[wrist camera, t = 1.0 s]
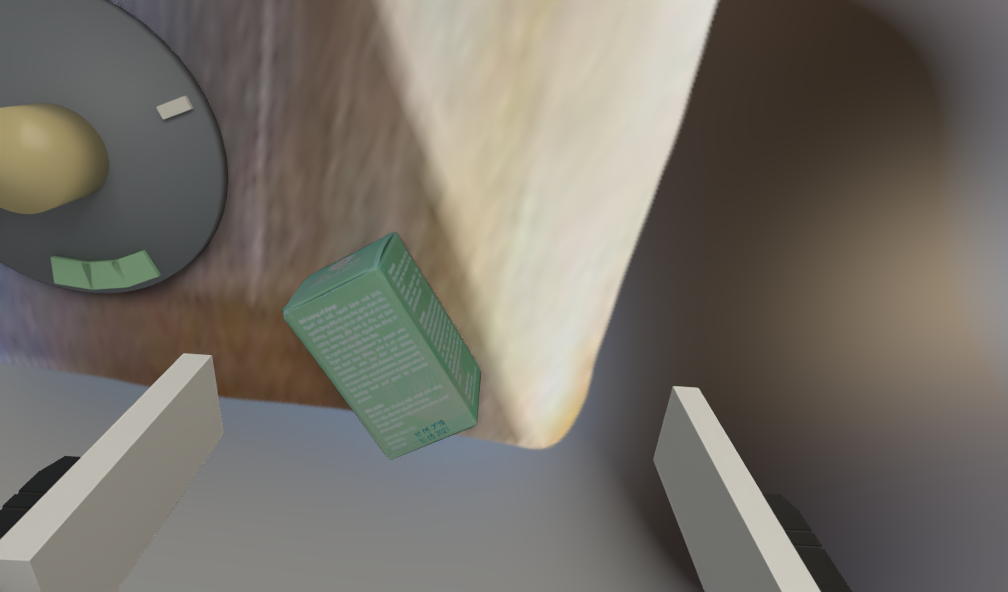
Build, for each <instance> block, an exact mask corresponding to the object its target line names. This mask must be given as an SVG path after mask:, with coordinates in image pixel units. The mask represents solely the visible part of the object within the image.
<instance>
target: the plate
mask: <svg viewBox="0 0 1008 592" xmlns="http://www.w3.org/2000/svg"><path fill="white" fill-rule="evenodd" d="M36 103H52V104H57V105H61V106H63V107H66V108H68V109H70V110H72V111H74V112H76V113H77V114H79V115H80V116H82V117H83V118H84V119H85V120H87V121H88V122H89V123H90V124H91V125H92V126H93V128H94V129H95V130H96V131H97V133H98V134H99V136H100V137H101V139H102V141H103V142H104V145H105V147H106V150H107V153H108V158H109V171H108V175H107V178H106V181H105V183H104V184H103V185H102V187H101V188H100V189H99V190H97V191H96V192H95V193H93V194H91V195H88V196H86V197H83V198H80V199H77V200H75V201H72V202H69V203H66V204H64V205H61V206H58V207H55V208H53V209H50V210H47V211H44V212H41V213H36V214H20V213H15V212H11V211H8V210H5V209H3V208H0V262H1V263H3V264H5V265H7V266H8V267H10V268H12V269H14V270H16V271H18V272H20V273H22V274H24V275H26V276H29V277H31V278H33V279H36V280H38V281H41V282H44V283H47V284H50V285H53V286H56V287H60V288H65V289H69V290H74V291H80V292H89V293H120V292H128V291H134V290H138V289H142V288H145V287H149V286H151V285H154V284H156V283H159V282H161V281H163V280H165V279H167V278H168V277H170V276H172V275H173V274H175V273H176V272H178V271H180V270H181V269H182V268H184V267H185V266H187V265H188V264H189V263H190V262H191V261H192V260H194V259H195V258H196V257H197V256H198V255H199V254H200V253H201V252H202V250H203V249H204V248H205V247H206V246H207V244H208V243H209V242H210V240H211V238H212V237H213V235H214V233H215V231H216V230H217V228H218V225H219V222H220V220H221V217H222V215H223V211H224V207H225V202H226V197H227V185H228V172H227V158H226V153H225V148H224V144H223V139H222V136H221V133H220V130H219V127H218V124H217V121H216V118H215V116H214V113H213V111H212V109H211V107H210V105H209V103H208V100H207V98H206V97H205V95H204V93H203V92H202V90H201V88H200V87H199V85H198V83H197V82H196V80H195V78H194V77H193V76H192V74H191V73H190V72H189V70H188V69H187V68H186V66H185V65H184V64H183V62H182V61H181V60H180V58H179V57H178V56H177V55H176V54H175V53H174V52H173V51H172V50H171V49H170V48H169V46H168V45H167V44H166V43H165V42H164V41H163V40H162V39H161V38H160V37H159V36H157V35H156V34H155V33H154V32H153V31H152V30H151V29H149V28H148V27H147V26H146V25H145V24H144V23H142V22H141V21H140V20H138V19H137V18H135V17H134V16H132V15H131V14H130V13H128V12H127V11H125V10H124V9H123V8H121V7H119V6H117V5H115V4H114V3H112V2H110V1H108V0H0V108H2V107H10V106H19V105H27V104H36Z"/></svg>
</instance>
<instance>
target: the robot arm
mask: <svg viewBox="0 0 1008 592" xmlns="http://www.w3.org/2000/svg"><path fill="white" fill-rule="evenodd" d="M223 435H224V432H223V425H222V419H221V413H220V405H219V399H218V392H217V386H216V379H215V372H214V366H213V359H212V355H199V354H184V353H183V354H182V355H181V357H180V358H179V359H178V360H177V361H176V362H175V363H174V364H173V365H172V366H171V367H170V368H169V369H168V370H167V371H166V372H165V373H164V374H163V375H162V376H161V377H160V378H159V379H158V380H157V381H156V382H155V383H154V384H153V385H152V386H151V387H150V388H149V389H148V390H147V391H146V392H145V393H144V394H143V395H142V396H141V397H140V398H139V399H138V400H137V401H136V402H135V404H133V405H132V406H131V407H130V408H129V409H128V410H127V411H126V412H125V413H124V414H123V415H122V416H121V417H120V419H119V420H118V421H117V422H116V423H115V424H114V425H113V426H112V427H111V428H110V429H109V430H108V431H107V432H106V433H105V434H104V435H103V436H102V437H101V438H100V439H99V440H98V441H97V442H96V443H95V444H94V445H93V446H92V447H91V448H90V449H89V450H88V451H87V452H86V453H85V454H84V455H83V456H82V457H71V456H64V457H63V458H61V459H59V460H58V461H56V462H54V463H53V464H51V465H49V466H47V467H46V468H44V469H43V470H41V471H39V472H38V473H37V474H36V475H35V476H34V477H33V478H31V479H30V481H28V482H27V483H26V484H25V485H24V486H23V487H22V488H21V489H20V490H19V493H18V494H15V495H14V496H13V497H12V498H10V499H9V500H8V502H6V503H5V504H4V505H3V508H2V510H0V592H117V591H118V590H119V588H120V587H121V585H122V584H123V582H124V581H125V579H126V578H127V576H128V575H129V574H130V572H131V571H132V569H133V568H134V566H135V565H136V563H137V562H138V560H139V559H140V557H141V556H142V554H143V553H144V551H145V550H146V548H147V547H148V545H149V544H150V543H151V541H152V540H153V538H154V537H155V535H156V534H157V532H158V530H159V529H160V528H161V526H162V525H163V523H164V522H165V520H166V519H167V517H168V516H169V514H170V513H171V511H172V510H173V509H174V507H175V506H176V504H177V503H178V501H179V500H180V498H181V497H182V495H183V494H184V492H185V491H186V489H187V488H188V486H189V485H190V483H191V482H192V481H193V479H194V477H195V476H196V475H197V473H198V471H199V470H200V469H201V467H202V466H203V464H204V463H205V461H206V460H207V459H208V457H209V456H210V454H211V453H212V451H213V450H214V448H215V447H216V445H217V444H218V442H219V441H220V439H221V438H222V436H223ZM653 460H654V463H655V465H656V468H657V470H658V473H659V476H660V478H661V480H662V483H663V486H664V488H665V491H666V493H667V496H668V499H669V501H670V504H671V506H672V509H673V511H674V514H675V517H676V519H677V522H678V524H679V527H680V529H681V532H682V534H683V537H684V539H685V542H686V545H687V547H688V550H689V552H690V555H691V557H692V560H693V563H694V565H695V568H696V570H697V573H698V575H699V578H700V581H701V583H702V586H703V588H704V591H705V592H852V591H851V589H850V588H849V586H848V585H847V583H846V582H845V580H844V579H843V577H842V576H841V574H840V573H839V571H838V569H837V568H836V567H835V565H834V563H833V562H832V560H831V559H830V557H829V556H828V555H827V553H826V551H825V550H824V549H822V547H821V546H822V545H821V544H820V542H819V541H818V539H817V538H816V536H815V535H814V534H812V532H811V529H810V527H809V525H808V524H807V522H806V521H805V519H804V518H803V516H802V515H801V513H800V512H799V511H798V510H797V509H796V508H795V507H794V506H793V505H792V504H790V503H789V502H788V501H787V500H786V499H785V498H784V497H783V496H782V495H780V494H764V493H761V492H760V490H759V488H758V486H757V485H756V483H755V481H754V480H753V478H752V476H751V475H750V473H749V471H748V470H747V468H746V466H745V465H744V463H743V461H742V460H741V458H740V456H739V455H738V453H737V451H736V450H735V448H734V446H733V445H732V443H731V441H730V440H729V438H728V436H727V435H726V433H725V431H724V430H723V428H722V427H721V425H720V423H719V422H718V420H717V418H716V416H715V415H714V413H713V411H712V410H711V408H710V407H709V405H708V403H707V402H706V400H705V398H704V397H703V395H702V393H701V391H700V390H699V388H691V387H676V386H673V388H672V391H671V395H670V399H669V403H668V406H667V410H666V414H665V418H664V421H663V425H662V429H661V433H660V436H659V440H658V444H657V448H656V451H655V455H654V459H653Z"/></svg>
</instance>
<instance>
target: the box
mask: <svg viewBox="0 0 1008 592" xmlns="http://www.w3.org/2000/svg"><path fill="white" fill-rule="evenodd" d="M282 311H283V315H284V319H285V321H286V322H287V323H288V325H289V326H290V327H291V328H292V330H293V331H294V332H295V334H296V335H297V336H298V337H299V339H300V340H301V341H302V343H303V344H304V345H305V347H306V348H307V349H308V351H309V352H310V353H311V355H312V356H313V357H314V359H315V360H316V361H317V363H318V364H319V365H320V367H321V368H322V369H323V371H324V372H325V373H326V375H327V376H328V377H329V379H330V380H331V382H332V383H333V384H334V386H335V387H336V388H337V390H338V391H339V393H340V394H341V395H342V397H343V398H344V399H345V401H346V402H347V403H348V405H349V406H350V407H351V409H352V410H353V412H354V413H355V414H356V416H357V417H358V418H359V420H360V421H361V422H362V424H363V425H364V427H365V428H366V429H367V431H368V432H369V434H370V435H371V436H372V438H373V439H374V441H375V442H376V443H377V445H378V446H379V447H380V449H381V450H382V451H383V452H384V453H385V455H386V456H387V457H388V458H389V459H390V460H392V459H394V458H397V457H399V456H402V455H404V454H407V453H409V452H411V451H414V450H417V449H419V448H421V447H424V446H427V445H429V444H432V443H434V442H437V441H439V440H442V439H444V438H446V437H449V436H451V435H454V434H456V433H459V432H461V431H464V430H467V429H469V428H472V427H474V426H475V425H477V418H478V405H479V392H480V379H481V371H480V369H479V367H478V365H477V363H476V361H475V360H474V358H473V356H472V355H471V353H470V352H469V350H468V348H467V347H466V345H465V343H464V341H463V340H462V338H461V336H460V334H459V333H458V331H457V329H456V328H455V326H454V324H453V323H452V321H451V319H450V318H449V316H448V314H447V313H446V311H445V310H444V308H443V306H442V305H441V303H440V302H439V300H438V298H437V297H436V295H435V293H434V292H433V290H432V289H431V287H430V285H429V284H428V282H427V281H426V279H425V278H424V276H423V274H422V273H421V271H420V270H419V268H418V266H417V265H416V263H415V262H414V260H413V258H412V257H411V255H410V253H409V252H408V250H407V248H406V247H405V245H404V243H403V242H402V240H401V238H400V237H399V235H398V234H397V232H396V233H391V234H389V235H387V236H385V237H384V238H382V239H380V240H378V241H376V242H374V243H372V244H370V245H368V246H366V247H364V248H362V249H360V250H358V251H357V252H355V253H353V254H351V255H349V256H347V257H345V258H343V259H341V260H339V261H337V262H335V263H333V264H331V265H329V266H327V267H325V268H323V269H321V270H319V271H317V272H316V273H314V274H312V275H310V276H309V277H308V278H307V279H306V280H305V281H304V282H303V283H302V284H301V285H300V286H299V288H298V289H297V290H296V292H295V293H294V294H293V296H292V297H291V298H290V300H289V301H288V303H287V304H286V306H285V307H284V308H283V310H282Z"/></svg>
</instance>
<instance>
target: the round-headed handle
mask: <svg viewBox="0 0 1008 592" xmlns="http://www.w3.org/2000/svg"><path fill="white" fill-rule="evenodd" d="M108 171H109V158H108V153H107V150H106V147H105V145H104V142H103V141H102V139H101V137H100V136H99V134H98V133H97V131H96V130H95V129H94V128H93V126H92V125H91V124H90V123H89V122H88V121H87V120H85V119H84V118H83V117H82V116H80V115H79V114H77V113H76V112H74V111H72V110H70V109H68V108H66V107H63V106H61V105H57V104H52V103H36V104H27V105H19V106H10V107H2V108H0V208H3V209H5V210H8V211H11V212H15V213H20V214H36V213H41V212H44V211H47V210H50V209H53V208H55V207H58V206H61V205H64V204H66V203H69V202H72V201H75V200H77V199H80V198H83V197H86V196H88V195H91V194H93V193H95V192H96V191H97V190H99V189H100V188H101V187H102V185H103V184H104V183H105V181H106V178H107V175H108Z"/></svg>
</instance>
